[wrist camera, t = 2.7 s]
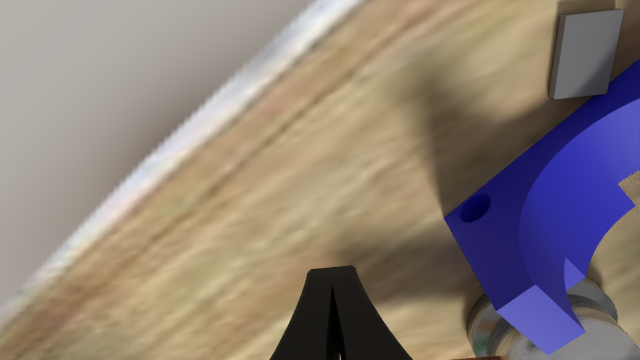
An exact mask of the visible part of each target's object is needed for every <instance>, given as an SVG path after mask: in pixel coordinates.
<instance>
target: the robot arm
mask: <svg viewBox="0 0 640 360" xmlns="http://www.w3.org/2000/svg"><path fill="white" fill-rule="evenodd" d="M340 356H341V360H413V359H412V358H411V357H410V356H409V355H408V353H407V352H406V351H405V350H404V348H403V347H402V346H401V345H400V343H399V342H398V341H397V339H396V338H395V337H394V335H393V334H392V333H391V331H390V330H389V329H388V327H387V326H386V324H385V323H384V321H383V320H382V318H381V317H380V315H379V314H378V312H377V310H376V309H375V307H374V306H373V304H372V302H371V301H370V299H369V297H368V295H367V294H366V292H365V290H364V288H363V286H362V284H361V282H360V279H359V277H358V274H357V272H356V268H354V267H353V266H352V265H351V266H341V267H330V268H320V269H311V270H310V271H309V272H308V273H307V277H306V281H305V285H304V288H303V291H302V294H301V296H300V299H299V302H298V304H297V306H296V309H295V311H294V313H293V316H292V318H291V320H290V322H289V324H288V327H287V328H286V330H285V332H284V334H283V336H282V338H281V340H280V342H279V344H278V346H277V348H276V350H275V351H274V353H273V355H272V357H271V358H270V360H340Z"/></svg>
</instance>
